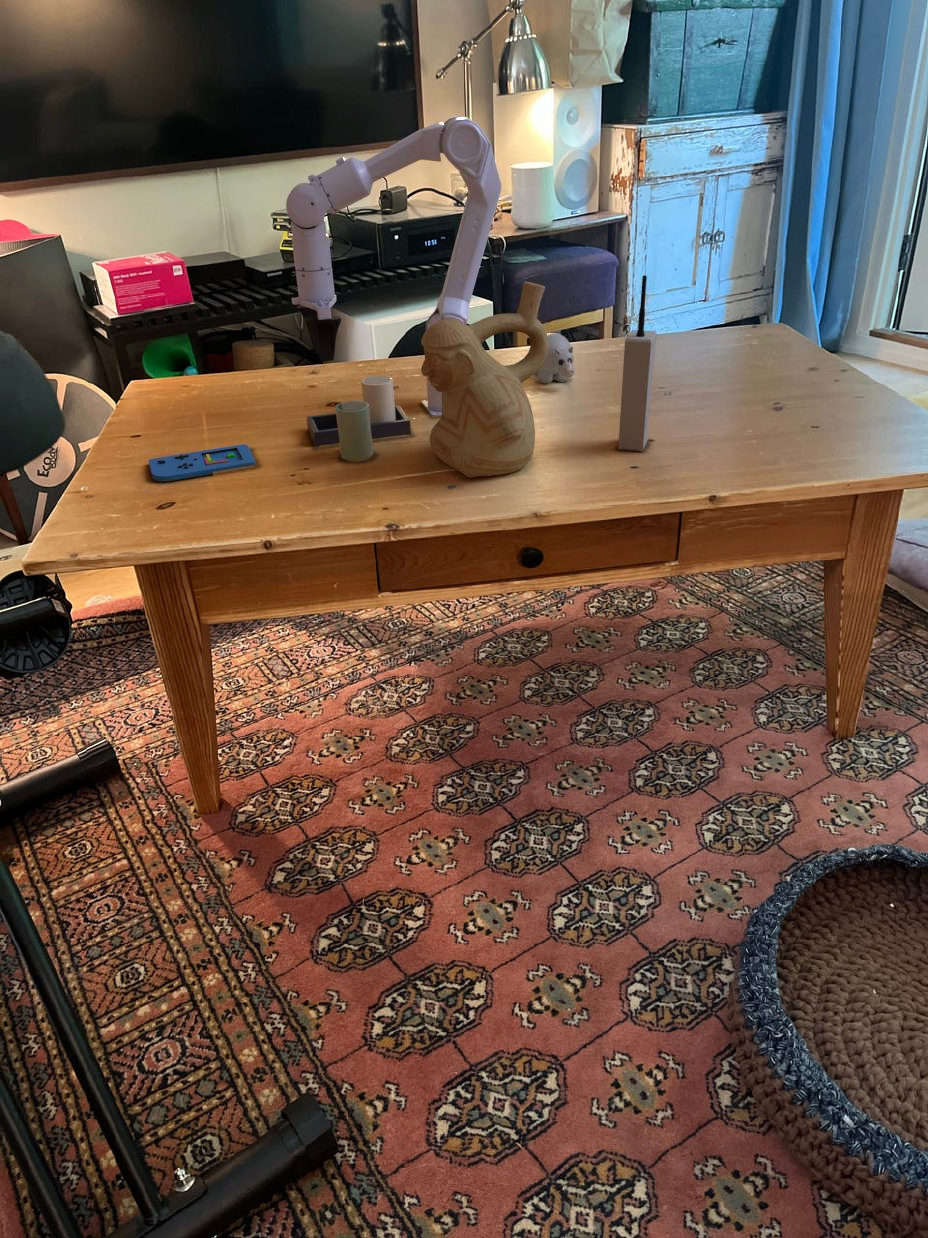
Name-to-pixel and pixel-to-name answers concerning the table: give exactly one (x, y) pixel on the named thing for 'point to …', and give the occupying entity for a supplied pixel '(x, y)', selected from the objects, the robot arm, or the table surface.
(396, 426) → the cup holder
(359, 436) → the green cup
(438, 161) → the robot arm
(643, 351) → the vintage mobile phone
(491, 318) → the ceramic vessel
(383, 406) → the cream cup
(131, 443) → the table surface
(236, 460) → the handheld gaming device
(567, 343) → the chubby cartoon animal
